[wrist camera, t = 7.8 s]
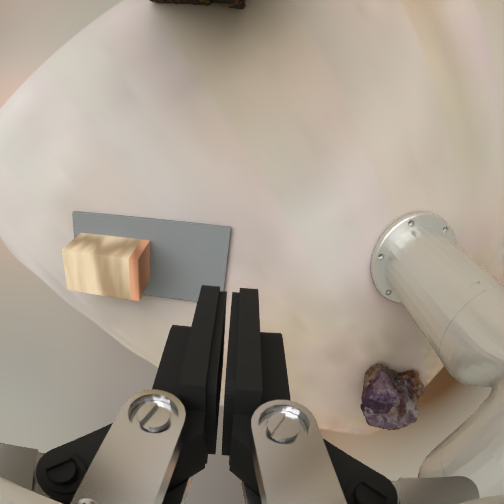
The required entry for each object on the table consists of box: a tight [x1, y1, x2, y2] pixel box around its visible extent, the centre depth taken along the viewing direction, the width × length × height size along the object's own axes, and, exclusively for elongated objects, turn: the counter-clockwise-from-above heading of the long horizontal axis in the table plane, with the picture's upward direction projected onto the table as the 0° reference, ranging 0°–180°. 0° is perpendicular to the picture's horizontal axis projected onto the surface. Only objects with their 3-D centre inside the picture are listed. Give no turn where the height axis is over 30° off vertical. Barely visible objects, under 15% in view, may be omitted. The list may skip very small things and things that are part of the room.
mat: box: [73, 211, 231, 301], centre depth 37 cm, size 19×10×1 cm, turn 82°
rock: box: [361, 364, 425, 430], centre depth 45 cm, size 12×9×10 cm
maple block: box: [62, 233, 150, 301], centre depth 34 cm, size 5×5×9 cm
